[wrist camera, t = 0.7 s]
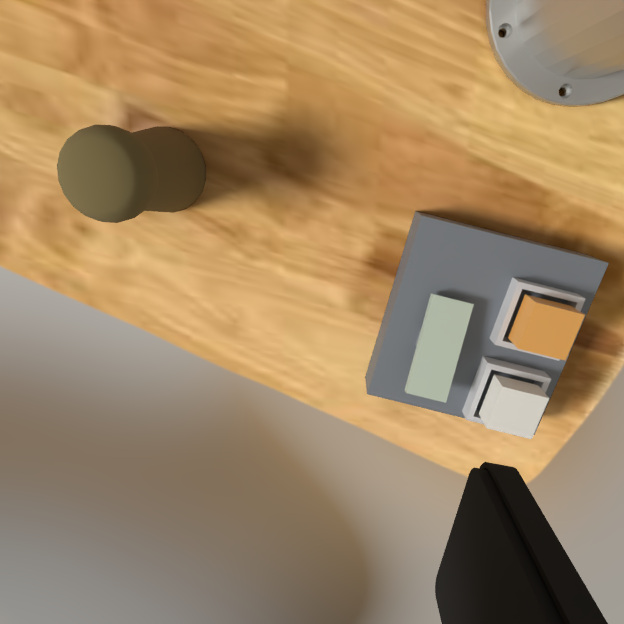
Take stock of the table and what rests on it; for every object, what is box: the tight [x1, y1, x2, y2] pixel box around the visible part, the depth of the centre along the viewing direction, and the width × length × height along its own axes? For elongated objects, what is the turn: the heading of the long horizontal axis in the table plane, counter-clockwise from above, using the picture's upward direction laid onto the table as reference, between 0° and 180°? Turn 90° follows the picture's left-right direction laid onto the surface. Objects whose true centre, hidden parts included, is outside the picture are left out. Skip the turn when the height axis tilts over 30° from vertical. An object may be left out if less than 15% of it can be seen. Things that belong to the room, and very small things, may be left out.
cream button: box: [479, 374, 549, 439], centre depth 35 cm, size 3×3×2 cm
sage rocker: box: [405, 294, 474, 403], centre depth 34 cm, size 7×3×1 cm, turn 166°
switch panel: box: [365, 211, 609, 435], centre depth 36 cm, size 14×13×4 cm
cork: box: [57, 125, 206, 223], centre depth 31 cm, size 6×6×11 cm
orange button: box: [508, 294, 585, 361], centre depth 33 cm, size 3×3×2 cm
